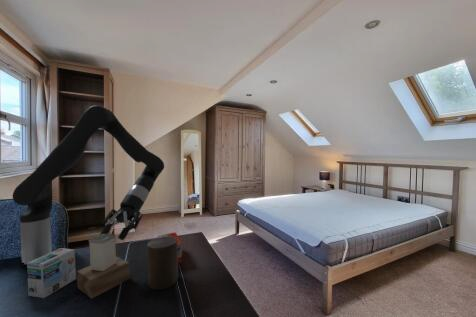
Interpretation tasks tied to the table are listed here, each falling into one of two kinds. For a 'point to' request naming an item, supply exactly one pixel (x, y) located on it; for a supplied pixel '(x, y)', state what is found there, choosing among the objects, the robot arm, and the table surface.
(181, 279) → the table surface
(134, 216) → the robot arm
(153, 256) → the pillar candle
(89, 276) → the walnut block
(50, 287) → the light bulb box
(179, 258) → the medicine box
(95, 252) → the pale grey tall block
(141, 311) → the table surface
